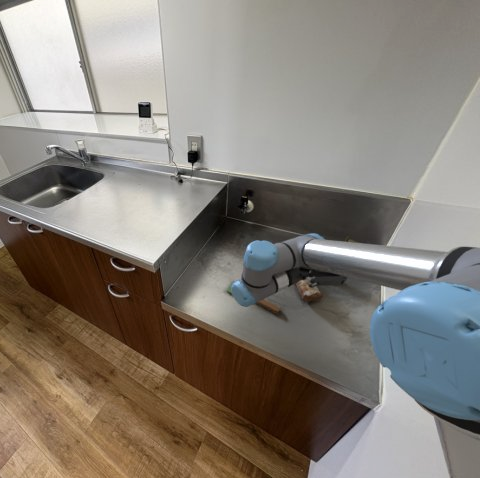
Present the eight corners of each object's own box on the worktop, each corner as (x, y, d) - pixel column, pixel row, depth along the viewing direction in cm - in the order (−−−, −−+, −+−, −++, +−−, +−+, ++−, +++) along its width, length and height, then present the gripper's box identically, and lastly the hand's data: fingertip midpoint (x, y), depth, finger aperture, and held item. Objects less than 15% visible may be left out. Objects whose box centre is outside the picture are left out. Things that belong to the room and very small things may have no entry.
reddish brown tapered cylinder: (302, 305, 84) (306, 295, 81) (283, 264, 99) (286, 254, 95) (321, 304, 84) (326, 294, 80) (299, 264, 98) (303, 253, 95)
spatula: (281, 306, 85) (282, 304, 84) (275, 317, 82) (276, 315, 81) (233, 282, 95) (233, 280, 94) (226, 291, 92) (226, 289, 91)
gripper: (250, 259, 85) (298, 238, 90) (312, 315, 67) (367, 285, 72) (253, 242, 80) (303, 222, 86) (320, 298, 62) (379, 267, 67)
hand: (332, 251), depth 79 cm, fingers open, 13 cm apart
